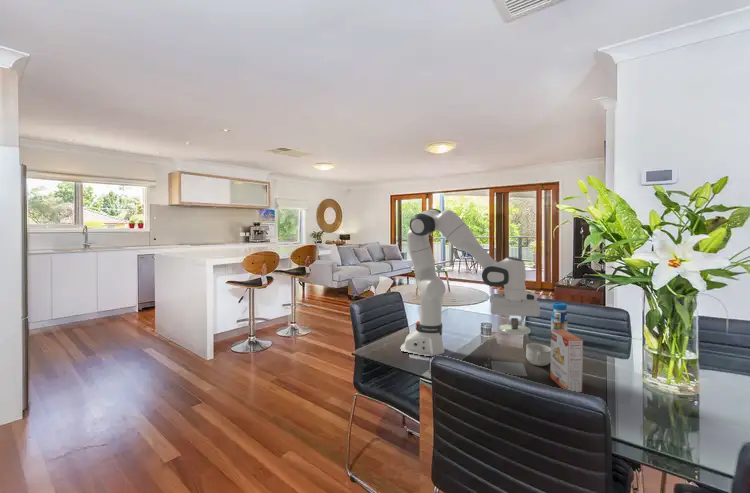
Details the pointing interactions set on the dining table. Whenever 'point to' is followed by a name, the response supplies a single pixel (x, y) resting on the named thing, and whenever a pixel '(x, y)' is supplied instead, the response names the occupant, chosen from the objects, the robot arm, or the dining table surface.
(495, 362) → the mat
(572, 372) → the cracker box
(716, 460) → the dining table surface
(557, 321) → the beverage bottle
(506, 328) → the lid
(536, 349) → the teacup
